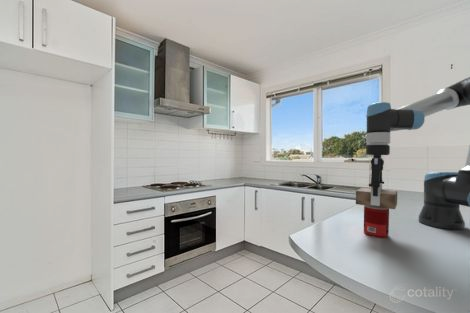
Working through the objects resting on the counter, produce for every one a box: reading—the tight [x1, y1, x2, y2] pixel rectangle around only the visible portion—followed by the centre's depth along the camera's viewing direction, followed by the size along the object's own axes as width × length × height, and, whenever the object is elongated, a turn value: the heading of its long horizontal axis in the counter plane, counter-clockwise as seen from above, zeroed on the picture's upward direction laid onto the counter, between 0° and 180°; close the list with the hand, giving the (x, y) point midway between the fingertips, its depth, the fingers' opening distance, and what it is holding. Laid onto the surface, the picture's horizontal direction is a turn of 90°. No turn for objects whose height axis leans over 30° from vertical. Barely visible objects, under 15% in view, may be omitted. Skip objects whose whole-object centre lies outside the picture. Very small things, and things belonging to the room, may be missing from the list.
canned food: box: [363, 205, 390, 239], centre depth 85 cm, size 8×8×11 cm
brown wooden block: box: [355, 187, 398, 210], centre depth 85 cm, size 12×11×5 cm
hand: (376, 202), depth 85 cm, fingers closed on brown wooden block, 11 cm apart
